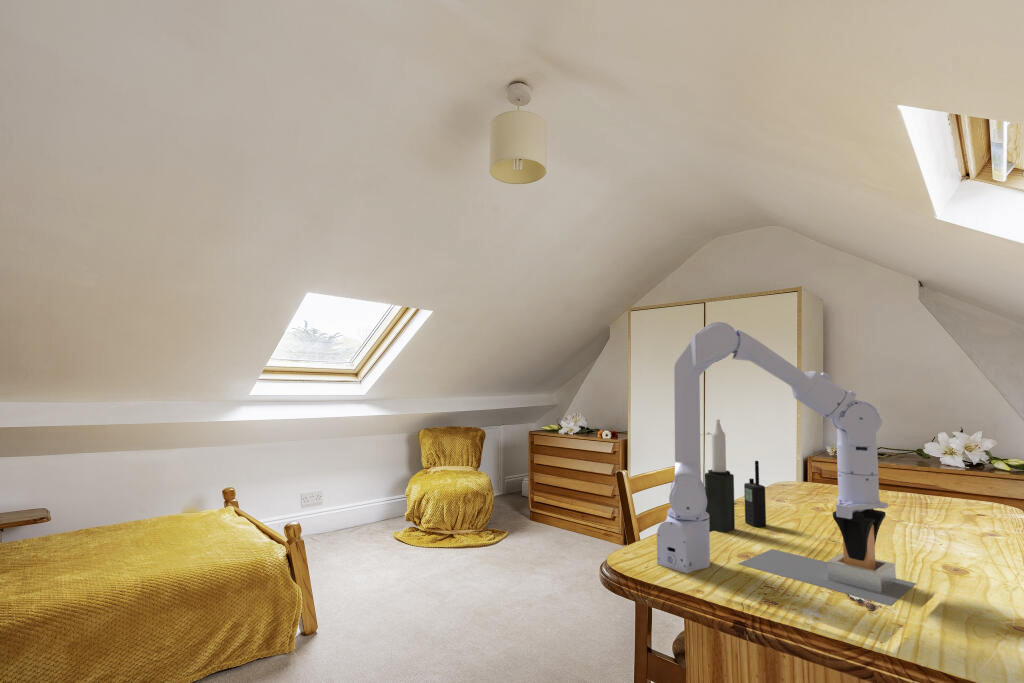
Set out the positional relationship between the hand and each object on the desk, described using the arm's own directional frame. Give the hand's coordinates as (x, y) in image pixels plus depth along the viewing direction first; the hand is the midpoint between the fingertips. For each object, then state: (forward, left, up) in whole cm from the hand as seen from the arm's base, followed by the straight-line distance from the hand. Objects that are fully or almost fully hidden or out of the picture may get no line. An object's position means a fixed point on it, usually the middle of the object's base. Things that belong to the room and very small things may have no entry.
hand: (860, 556), depth 87 cm
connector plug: (0, 0, -2) cm, 2 cm away
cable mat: (-1, +5, -5) cm, 7 cm away
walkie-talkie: (+25, +29, -5) cm, 39 cm away
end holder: (0, 0, -5) cm, 5 cm away
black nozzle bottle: (+12, +31, -5) cm, 34 cm away
